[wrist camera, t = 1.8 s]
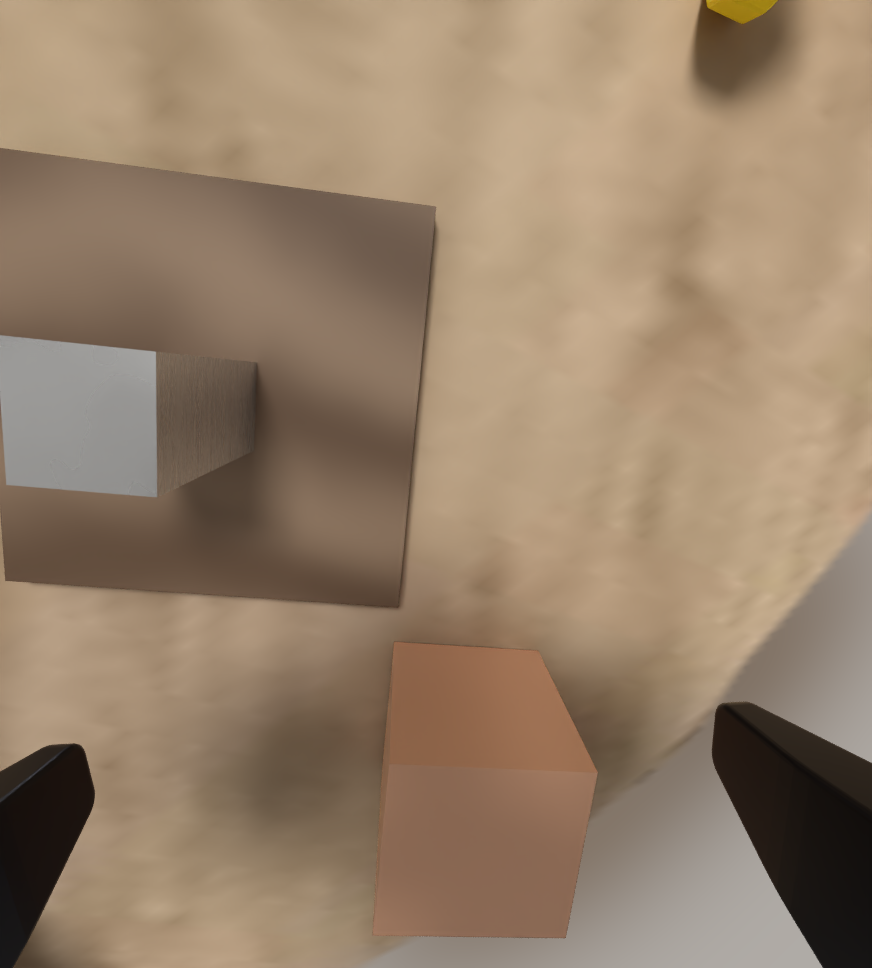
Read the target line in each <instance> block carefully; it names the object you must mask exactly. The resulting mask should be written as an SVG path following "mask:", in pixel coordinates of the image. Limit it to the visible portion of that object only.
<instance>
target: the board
mask: <svg viewBox="0 0 872 968" xmlns="http://www.w3.org/2000/svg"><path fill="white" fill-rule="evenodd" d="M435 212H436V207H435V206H427V205H420V204H413V203H405V202H398V201H390V200H383V199H375V198H368V197H360V196H353V195H346V194H338V193H331V192H323V191H316V190H308V189H301V188H293V187H286V186H279V185H271V184H264V183H256V182H249V181H241V180H234V179H227V178H219V177H212V176H204V175H197V174H189V173H182V172H174V171H167V170H160V169H152V168H145V167H137V166H130V165H122V164H115V163H107V162H100V161H93V160H85V159H78V158H70V157H63V156H55V155H48V154H40V153H33V152H26V151H18V150H11V149H3V148H0V335H3V336H12V337H22V338H31V339H41V340H50V341H60V342H69V343H79V344H88V345H97V346H107V347H116V348H126V349H135V350H145V351H154V352H164V353H173V354H183V355H192V356H201V357H211V358H220V359H230V360H239V361H248V362H257V372H256V405H255V437H254V451H252V452H250V453H248V454H246V455H244V456H242V457H240V458H238V459H236V460H233V461H231V462H229V463H227V464H225V465H223V466H221V467H219V468H217V469H215V470H213V471H211V472H209V473H207V474H204V475H202V476H200V477H198V478H196V479H194V480H192V481H190V482H188V483H186V484H184V485H182V486H180V487H178V488H176V489H173V490H171V491H169V492H167V493H165V494H163V495H161V496H159V497H147V496H135V495H122V494H110V493H98V492H86V491H74V490H62V489H50V488H38V487H26V486H14V485H6V473H5V458H4V444H3V430H2V416H1V402H0V514H1V527H2V541H3V554H4V568H5V581H17V582H32V583H46V584H61V585H76V586H91V587H105V588H120V589H135V590H149V591H164V592H179V593H194V594H208V595H223V596H238V597H253V598H267V599H282V600H297V601H311V602H326V603H341V604H356V605H370V606H385V607H398V603H399V592H400V582H401V571H402V560H403V550H404V539H405V529H406V518H407V508H408V497H409V487H410V476H411V465H412V455H413V444H414V434H415V423H416V413H417V402H418V392H419V381H420V371H421V360H422V349H423V339H424V328H425V318H426V307H427V297H428V286H429V276H430V265H431V255H432V244H433V233H434V223H435Z"/></svg>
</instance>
